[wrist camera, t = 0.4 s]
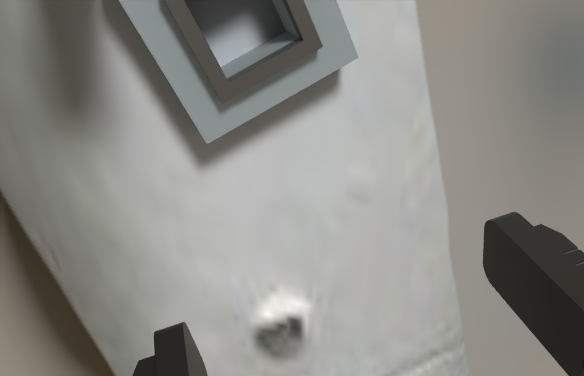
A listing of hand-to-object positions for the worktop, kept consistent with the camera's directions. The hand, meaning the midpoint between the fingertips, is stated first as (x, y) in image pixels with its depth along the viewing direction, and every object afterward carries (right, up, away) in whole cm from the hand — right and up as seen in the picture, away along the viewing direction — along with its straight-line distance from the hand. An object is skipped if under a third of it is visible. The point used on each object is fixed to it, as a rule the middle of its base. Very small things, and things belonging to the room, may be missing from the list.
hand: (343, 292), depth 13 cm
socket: (-5, +14, +22) cm, 27 cm away
